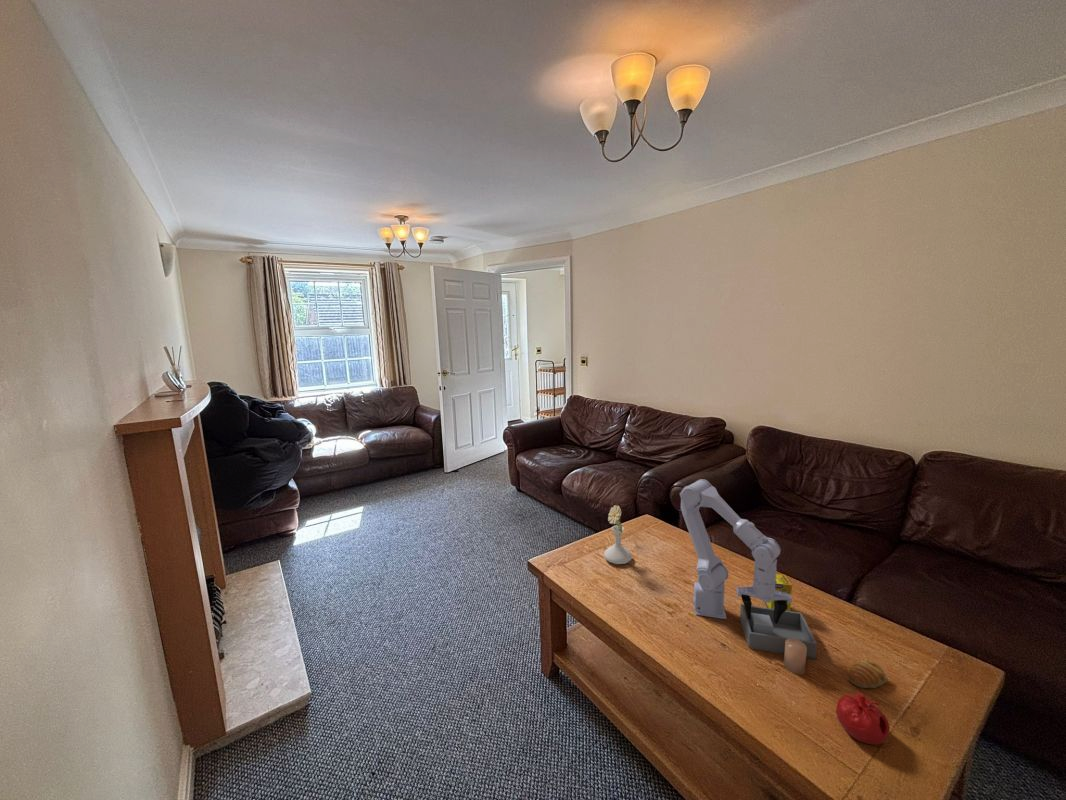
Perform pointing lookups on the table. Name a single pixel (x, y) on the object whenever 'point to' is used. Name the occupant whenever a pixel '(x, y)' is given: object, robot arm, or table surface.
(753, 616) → the slate-blue block
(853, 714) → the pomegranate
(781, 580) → the supplement box
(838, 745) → the table surface
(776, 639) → the charcoal tote
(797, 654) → the tan rounded cylinder
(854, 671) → the pastry
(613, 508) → the flower in vase
